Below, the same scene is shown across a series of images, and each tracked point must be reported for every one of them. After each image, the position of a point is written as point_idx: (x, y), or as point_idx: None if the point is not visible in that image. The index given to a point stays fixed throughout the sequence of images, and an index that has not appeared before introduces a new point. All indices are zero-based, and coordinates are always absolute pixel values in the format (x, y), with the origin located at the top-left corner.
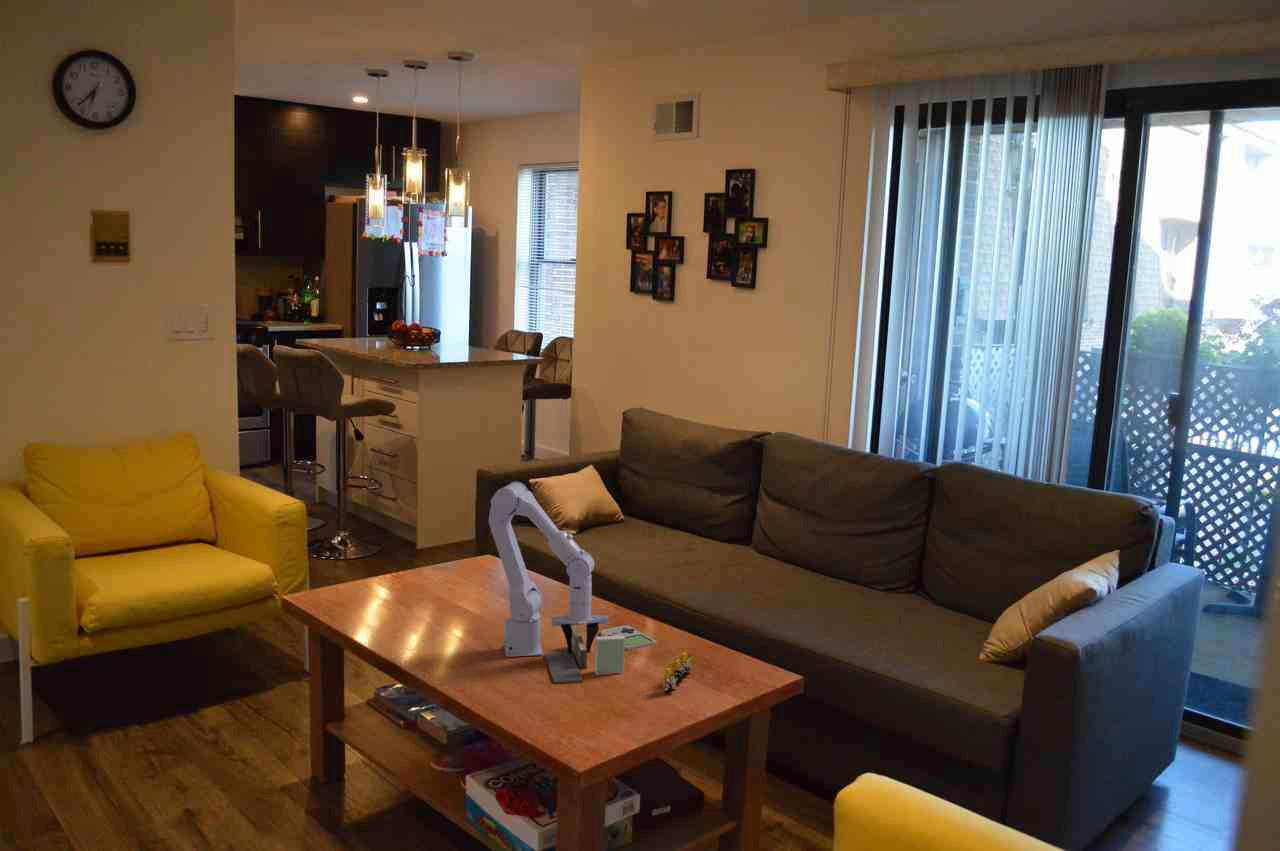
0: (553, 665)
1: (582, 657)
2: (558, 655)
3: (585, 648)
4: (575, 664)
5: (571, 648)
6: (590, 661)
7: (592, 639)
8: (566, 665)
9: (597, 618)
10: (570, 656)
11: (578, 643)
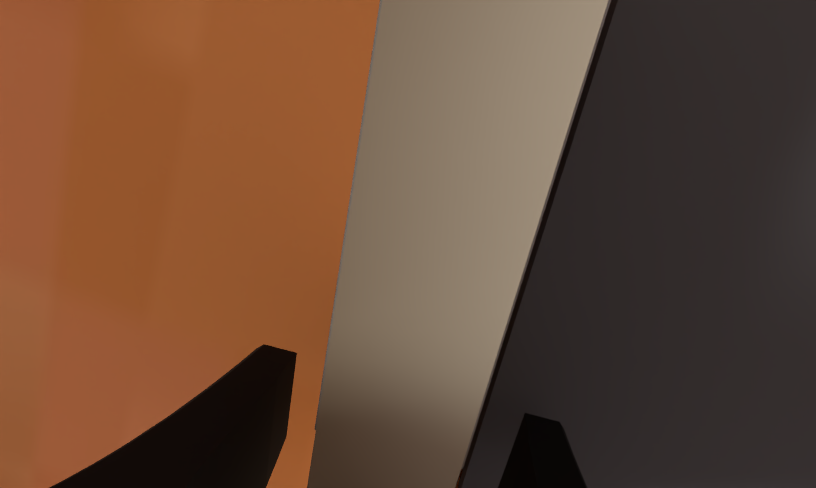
0: None
1: None
2: (677, 477)
3: (410, 49)
4: (616, 80)
5: (541, 467)
6: (307, 197)
7: (100, 473)
8: (795, 93)
9: None
10: (536, 394)
11: (460, 436)
